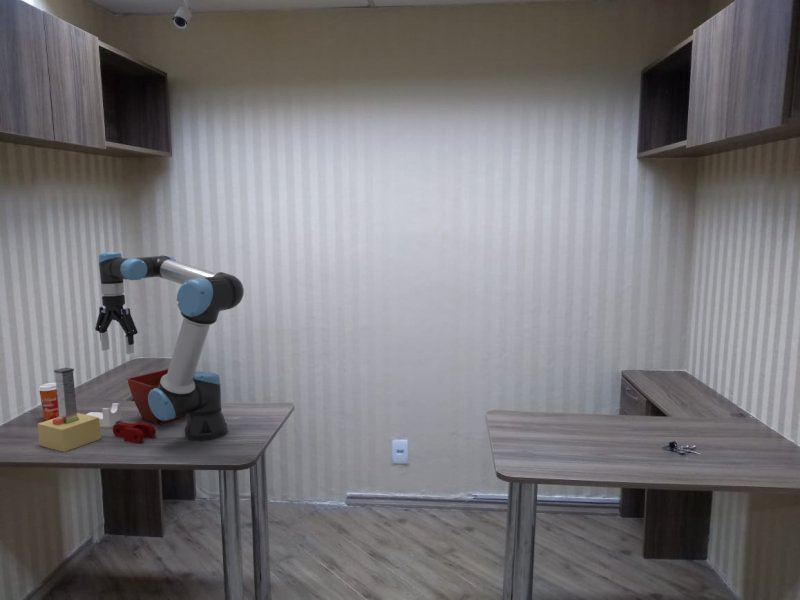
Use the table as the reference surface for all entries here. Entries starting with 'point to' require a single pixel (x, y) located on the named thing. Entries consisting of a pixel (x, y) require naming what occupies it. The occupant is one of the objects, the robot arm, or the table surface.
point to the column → (66, 395)
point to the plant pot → (147, 393)
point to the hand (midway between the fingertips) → (117, 351)
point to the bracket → (108, 415)
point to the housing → (69, 432)
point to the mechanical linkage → (134, 431)
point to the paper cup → (49, 401)
